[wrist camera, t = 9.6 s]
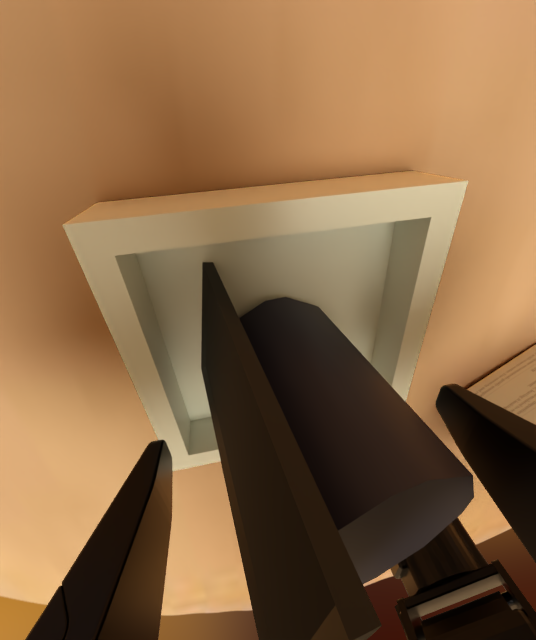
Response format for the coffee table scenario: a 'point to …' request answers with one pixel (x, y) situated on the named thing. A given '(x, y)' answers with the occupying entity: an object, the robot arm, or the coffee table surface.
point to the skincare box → (512, 386)
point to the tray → (265, 277)
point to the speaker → (317, 465)
